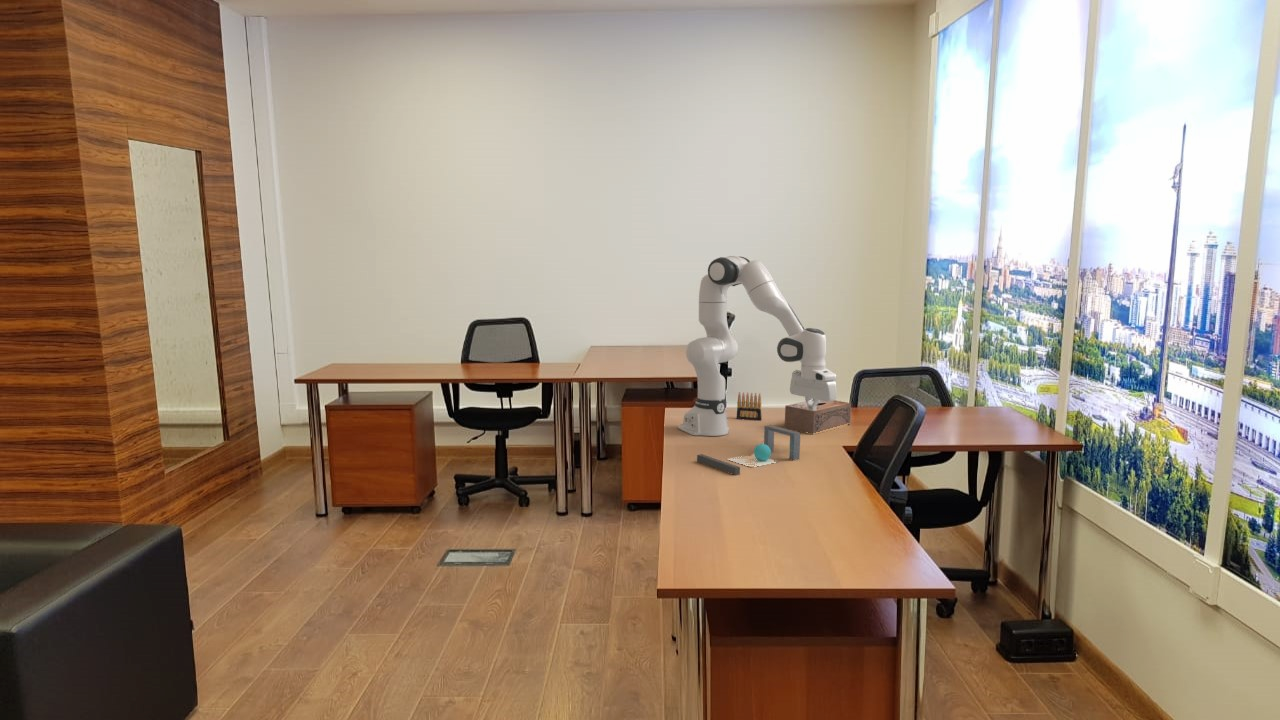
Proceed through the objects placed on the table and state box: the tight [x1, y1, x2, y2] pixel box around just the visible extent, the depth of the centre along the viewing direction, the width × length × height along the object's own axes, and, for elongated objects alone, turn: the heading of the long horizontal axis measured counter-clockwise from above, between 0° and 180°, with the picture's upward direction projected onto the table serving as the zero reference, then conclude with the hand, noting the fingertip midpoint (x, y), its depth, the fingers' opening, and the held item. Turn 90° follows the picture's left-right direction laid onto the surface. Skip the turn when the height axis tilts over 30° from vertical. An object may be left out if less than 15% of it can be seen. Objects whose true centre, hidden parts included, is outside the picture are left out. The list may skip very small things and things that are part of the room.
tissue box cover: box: [784, 399, 852, 434], centre depth 341 cm, size 26×14×10 cm, turn 132°
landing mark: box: [726, 455, 777, 468], centre depth 287 cm, size 13×13×1 cm
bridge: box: [763, 424, 801, 461], centre depth 295 cm, size 3×15×10 cm, turn 35°
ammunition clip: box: [735, 391, 762, 422], centre depth 355 cm, size 11×2×12 cm, turn 75°
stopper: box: [696, 453, 741, 476], centre depth 278 cm, size 20×2×2 cm, turn 35°
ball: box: [753, 443, 772, 461], centre depth 287 cm, size 6×6×6 cm
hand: (811, 409), depth 302 cm, fingers closed
